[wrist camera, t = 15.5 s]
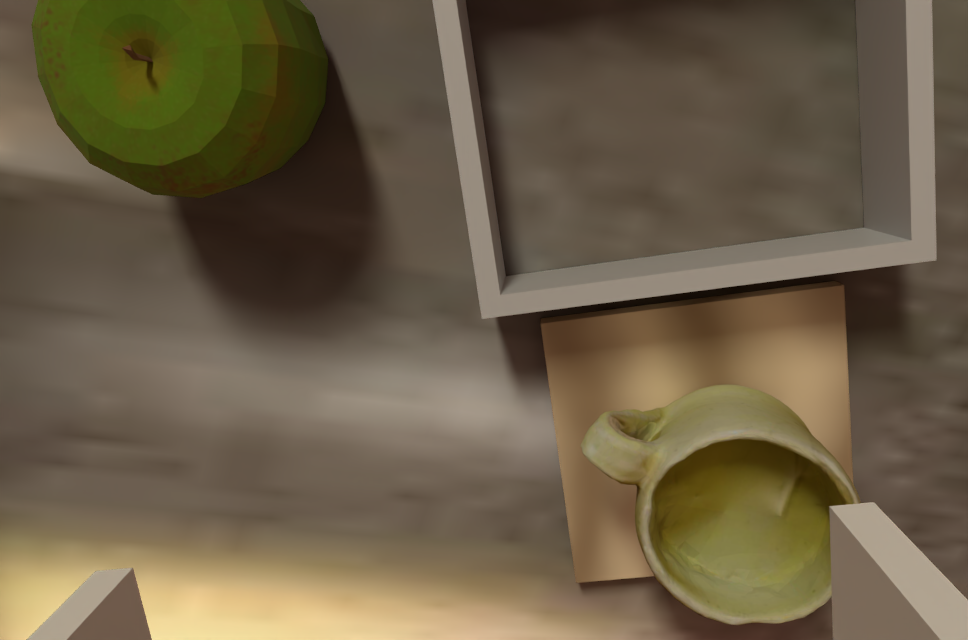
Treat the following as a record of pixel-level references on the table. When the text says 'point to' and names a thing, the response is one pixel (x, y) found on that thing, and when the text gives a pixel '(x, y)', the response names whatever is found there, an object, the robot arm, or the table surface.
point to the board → (685, 389)
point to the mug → (728, 501)
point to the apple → (182, 87)
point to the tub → (881, 243)
